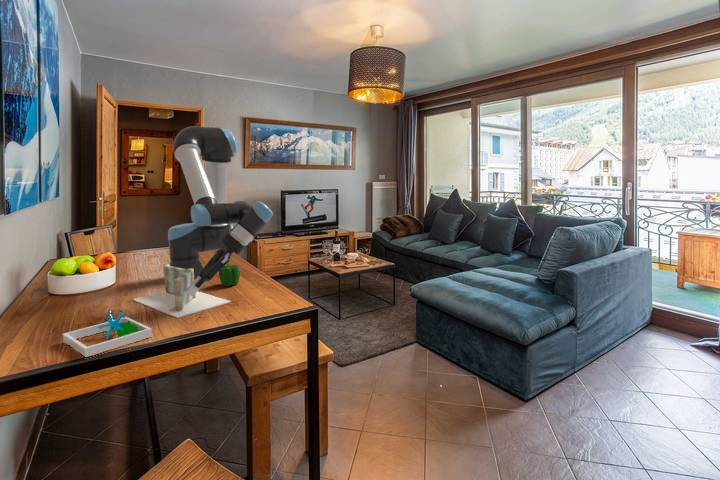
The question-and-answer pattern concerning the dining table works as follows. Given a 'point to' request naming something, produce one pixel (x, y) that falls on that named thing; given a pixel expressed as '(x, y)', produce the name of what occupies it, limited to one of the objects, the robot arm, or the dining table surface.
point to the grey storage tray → (97, 348)
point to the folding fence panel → (182, 290)
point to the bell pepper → (229, 274)
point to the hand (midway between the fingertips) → (189, 293)
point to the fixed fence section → (174, 276)
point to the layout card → (200, 303)
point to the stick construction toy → (119, 326)
